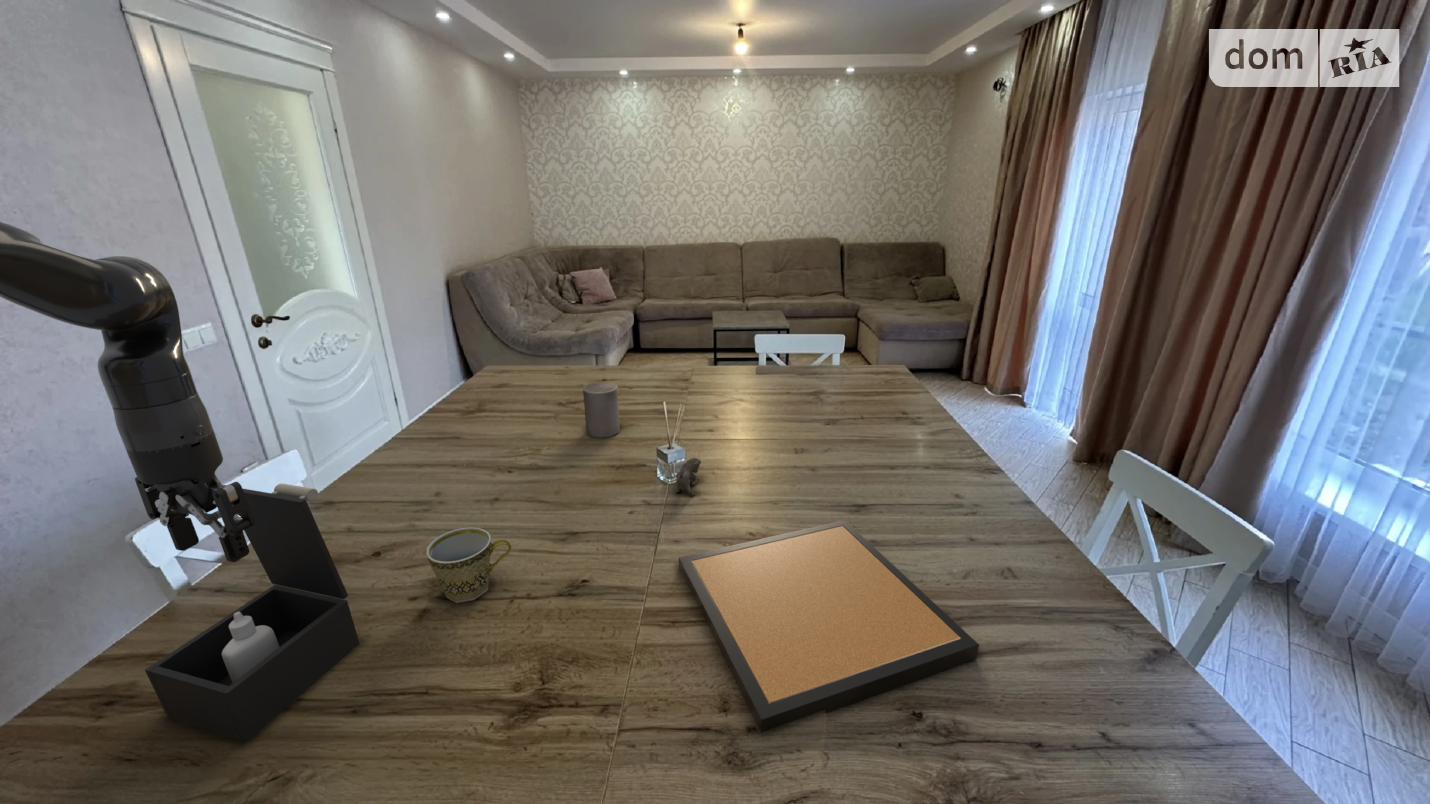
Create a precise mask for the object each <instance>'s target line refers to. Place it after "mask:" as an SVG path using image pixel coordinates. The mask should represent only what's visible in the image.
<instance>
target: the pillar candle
mask: <svg viewBox="0 0 1430 804" xmlns="http://www.w3.org/2000/svg"><path fill="white" fill-rule="evenodd" d="M582 394H583V406H584V419H585V420H584V421H585V430H586V431H585V432H586V434H587V436H589V437H592V438H596V439H597V438H599V439H602V438H611V437H613V436H615V435H616V434H618V433H620V431H621V428H620V408H619V396H618V395H619V394H618V385H617V384H615V383H613V382H608V381H599V382H597V381H596V382H592V383H588V384H586V385H585V386H583V387H582Z"/></svg>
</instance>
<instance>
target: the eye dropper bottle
mask: <svg viewBox="0 0 1430 804" xmlns="http://www.w3.org/2000/svg"><path fill="white" fill-rule="evenodd" d="M229 629H230V632H231V634H232V637H233V639H232V640H231V641H230V642H229V643H228V644H227V645H226V647H225V648H224V649H223V651H222V658H223V660H224V663H225V666H226V668H227V670H228V673H229V675H230V678H231V680H232V683H234V682H235V681H236V680H238V679H239V678H240V677H242V676H243V675H244V674H246V673H247V672H248V671H250V670H251V669H252V668H253V667H255V666H256V665H257V664H259V663H260V662H261V661H263V660H264V659H265V658H266V657H268V656H269V655H270V654H272V653H273V652H274V651H276V650H277V649H278V648H279V644H278V641H277V639H276V636H275V634H274V631H273V630H272V628H270V627H268V626H265V625H260V626H256V627H255V625H254V622H253V620H252V617H251V616H243V615H242V614H241V612H236V613H234V620H233V621H232V622H231V623H230V624H229Z"/></svg>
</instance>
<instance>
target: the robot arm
mask: <svg viewBox="0 0 1430 804" xmlns="http://www.w3.org/2000/svg"><path fill="white" fill-rule="evenodd" d="M0 298H2V299H4V300H5V301H9V302H10V303H13V304H15V305H17V306H20V307H23V308H25V309H27V310H30V311H33V312H36V313H38V314H41V315H43V316H45V317H48V318H50V319H53V320H56V321H60V322H62V323H66V324H69V325H73V326H76V327H79V328H80V327H81V328H87V329H90V330H91V329H92V330H96V331H101V335H102V341H103V343H104V344H103V347H104V348H103V351H102V353H101V355H100V356H99V358H98V360H97V373H98V375H99V378H100V380H101V384H102V386H103V388H104V391H105V393H106V396H107V398H108V401H109V403H110V405H111V407H112V411H113V416H114V422H115V426H116V429H117V431H118V433H119V437H120V439H121V442H122V444H123V446H124V448H125V451H126V454H127V456H128V459H129V461H130V464H131V466H132V468H133V471H134V473H135V475H136V477H135V478H134V481H135V484H136V487H137V490H138V492H139V496H140V498H141V500H142V503H143V505H144V509H145V511H146V514H147V517H148V518H149V519H150V520H156V519H158V520H159V523H160V524H161V525H162V526H163V527H166V529H167V531H168V533H169V536H170V538H171V540H172V543H173V546H174V548H175V550H176V551H181V552H184V551H186V550H188V549H190V548H192V547H195V546H196V545H198V544H199V543H200V539H199V536H198V533H197V531H196V528H195V526H194V523H193V520H192V518H191V517H189V516H190V515H191V516H193V517H195V519H196V520H197V521H198V522H199V523H200V524H201V525H203V526H209V527H210V528H211V529H212V530H213V531H214V532H215V534H217V535H218V540H219V543H220V545H221V548H222V551H223V554H224V556H225V560H226V561H227V562H231V563H236V562H238V561H239V560H241V559H243V558H245V557H246V556H248V555H249V554H250V548H249V545H248V542H247V540H246V536H245V532H244V530H245V529H247V528H249V527H251V526H253V525H255V520H254V517H253V515H252V512H251V509H250V507H249V504H248V502H247V499H246V496H245V494H244V491H243V489H244V488H243V487H242V485H241V483H240V482H239V481H234V482H231V483H228V484H222V483H221V481H220V479H218V477H217V475H216V471H217V469H218V468H219V467H220V466H221V465H222V464H223V461H224V456H223V453H222V451H221V448H220V445H219V441H218V439H217V436H216V432H215V430H214V427H213V424H212V421H211V418H210V416H209V413H208V410H207V407H206V406H205V403H204V402H203V400H202V399H201V397H200V394H199V392H198V390H197V387H196V384H195V380H194V378H193V375H192V372H191V369H190V366H189V364H188V362H187V359H186V357H185V354H184V347H183V345H184V344H183V332H182V325H181V318H180V312H179V307H178V306H179V305H178V302H177V297H176V295H175V292H174V289H173V288H172V286H171V284H170V282H169V281H168V279H167V277H166V276H165V275H164V274H163V273H162V272H161V271H160V270H159V269H158V268H157V267H156V266H154V265H153V264H151V263H149V262H147V261H145V260H142V259H140V258H136V257H132V256H125V255H114V256H107V257H106V256H105V257H102V258H96V259H92V258H89V257H84V256H80V255H77V254H73V253H70V252H67V251H64V250H61V249H58V248H55V247H53V246H51V245H47V244H44V243H43V242H42V240H41V239H40V238H39V237H37V236H36V235H34V234H33V233H31V232H29V231H27V230H25V229H22V228H20V227H17V226H14V225H12V224H8V223H7V222H3V221H0ZM242 488H243V489H242ZM157 501H159V504H158V506H157V505H156V502H157ZM216 509H217V510H216ZM214 510H216V511H214ZM212 511H214V512H212ZM210 512H212V513H210ZM238 513H240V514H241V516H242V518H241V517H240V516H239V515H238ZM219 519H221V520H222V522H223V524H222V522H221V521H220V520H219Z"/></svg>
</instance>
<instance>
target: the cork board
mask: <svg viewBox="0 0 1430 804" xmlns="http://www.w3.org/2000/svg"><path fill="white" fill-rule="evenodd" d="M678 569H679V570H680V572H681V575H682V577H683V579H684V581H685V582H686V585H687V587H688V589H689V590H690V593H691V595H692V597H693V600H694V601H695V603H696V605H697V607H698V609H699V611H700V613H701V616H702V617H703V619H704V620H705V623H706V624H707V627H708V629H709V631H710V633H711V635H712V637H713V639H714V641H715V643H716V646H717V647H718V649H719V651H720V653H721V655H722V657H723V659H724V661H725V664H726V666H727V667H728V669H729V671H730V673H731V675H732V677H733V679H734V681H735V683H736V686H737V687H738V689H739V692H740V694H741V696H742V697H743V700H744V701H745V704H746V706H747V707H748V709H749V711H750V713H751V715H752V718H753V719H754V722H755V723H756V726H757V728H758V730H759V731H760V733H764V732H766V731H769V730H772V729H775V728H777V727H780V726H784V725H785V724H788V723H789V724H790V723H791V722H794V721H797V720H800V719H802V718H806V717H808V716H811V715H814V714H817V713H820V712H823V711H824V713H825V714H826V713H829V712H832V711H835V710H838V709H841V708H844V707H846V706H849V705H852V704H855V703H857V702H861V701H863V700H866V699H869V698H871V697H874V696H877V695H880V694H883V693H886V692H888V691H890V690H894V689H896V688H899V687H903V686H905V685H908V684H910V683H913V682H916V681H919V680H922V679H924V678H928V677H930V676H934V675H936V674H939V673H941V672H944V671H947V670H949V669H953V668H955V667H958V666H960V665H964V664H966V663H969V662H972V661H974V660H977V657H978V652H979V648H980V644H979V643H978V642H977V641H976V640H975V639H974V638H973V637H972V636H971V635H969V634H968V633H967V632H966V631H965V630H964V629H963V628H962V627H961V626H959V624H958V623H957V622H955V621H954V620H953V619H952V618H951V617H950V616H949V615H948V614H947V613H946V612H945V611H943V610H942V609H941V608H940V607H939V606H938V605H937V604H936V603H935V602H934V601H933V600H932V599H931V598H929V597H928V596H927V594H925V593H924V592H923V591H922V590H921V588H919V587H918V586H917V585H915V584H914V583H913V582H912V581H911V580H910V579H909V578H908V577H907V576H906V575H905V574H904V573H903V572H901V571H900V569H898V568H897V567H896V566H895V565H894V564H893V563H892V562H891V561H890V560H889V559H887V557H885V556H884V554H882V553H881V552H880V551H879V550H878V549H877V548H876V547H875V546H874V545H872V544H871V542H869V541H868V540H867V539H866V538H865V537H864V536H863V535H862V534H861V533H859V532H858V531H857V529H855V528H854V527H853V526H852V525H851V524H850V523H848V521H846V520H845V519H842V520H838V521H833V522H828V523H825V524H824V523H823V524H820V525H816V526H811V527H807V528H803V529H798V530H793V531H789V532H785V533H780V534H776V535H772V536H768V537H763V538H759V539H755V540H750V541H745V542H741V543H737V544H732V545H728V546H723V547H719V548H715V549H710V550H706V551H701V552H696V553H692V554H688V555H684V556H680V557H678Z"/></svg>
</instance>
